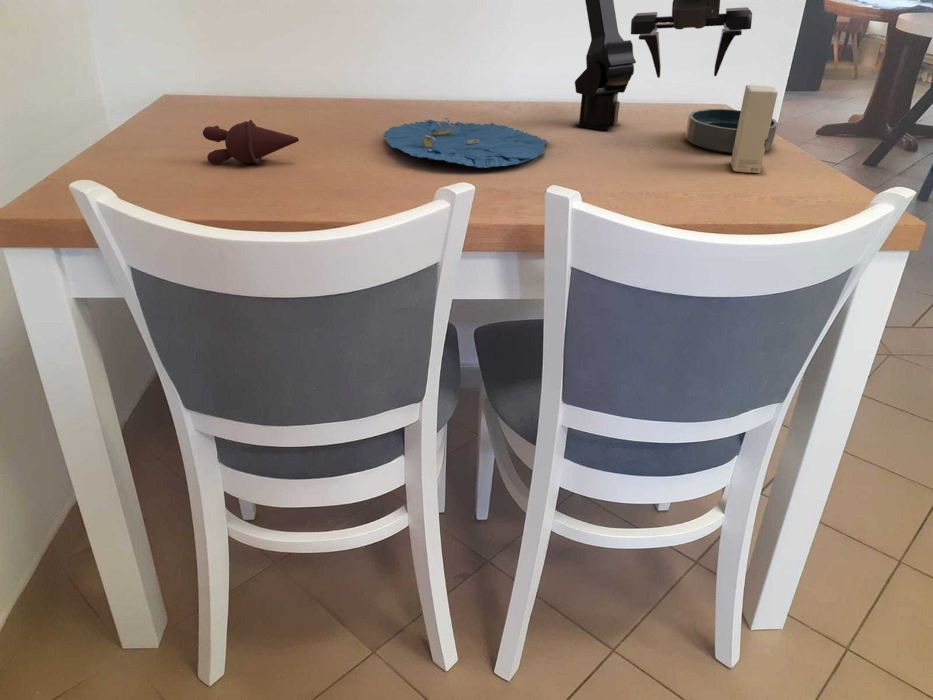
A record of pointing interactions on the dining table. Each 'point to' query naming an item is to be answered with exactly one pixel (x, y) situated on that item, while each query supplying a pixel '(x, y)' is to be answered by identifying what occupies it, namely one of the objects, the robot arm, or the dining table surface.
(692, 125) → the bowl
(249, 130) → the icecream
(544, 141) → the decorative plate
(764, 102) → the box
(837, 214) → the dining table surface
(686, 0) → the robot arm
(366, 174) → the dining table surface
